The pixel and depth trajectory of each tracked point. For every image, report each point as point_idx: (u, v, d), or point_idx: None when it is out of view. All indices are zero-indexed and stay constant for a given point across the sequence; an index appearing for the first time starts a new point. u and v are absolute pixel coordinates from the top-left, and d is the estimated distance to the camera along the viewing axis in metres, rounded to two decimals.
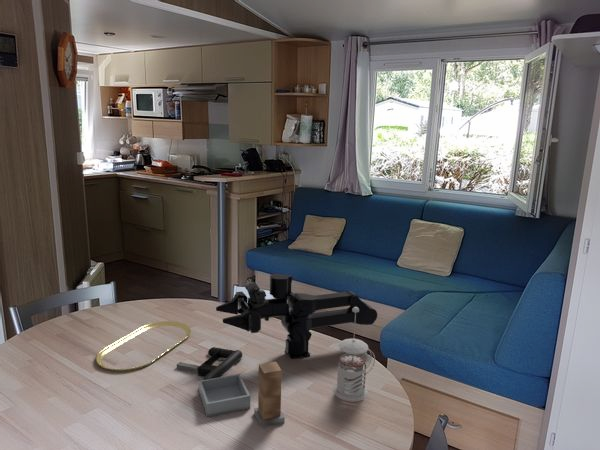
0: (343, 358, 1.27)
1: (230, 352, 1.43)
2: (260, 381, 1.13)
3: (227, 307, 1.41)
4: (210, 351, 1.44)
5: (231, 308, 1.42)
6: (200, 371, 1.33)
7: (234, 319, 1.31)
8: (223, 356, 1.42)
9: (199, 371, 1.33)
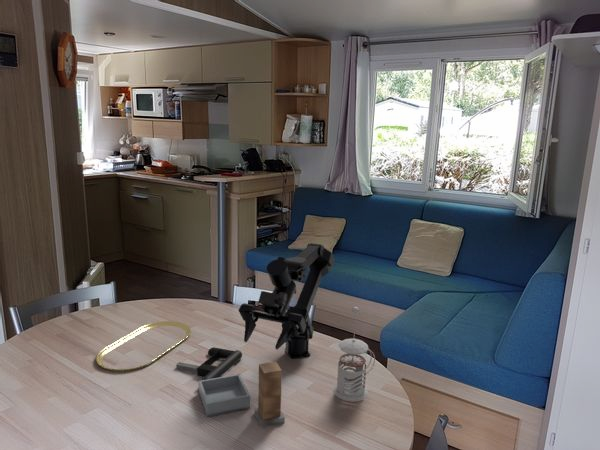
0: (343, 358, 1.27)
1: (230, 352, 1.42)
2: (260, 381, 1.13)
3: (250, 330, 1.25)
4: (210, 351, 1.44)
5: (251, 327, 1.27)
6: (200, 371, 1.33)
7: (283, 337, 1.21)
8: (223, 356, 1.42)
9: (199, 371, 1.33)
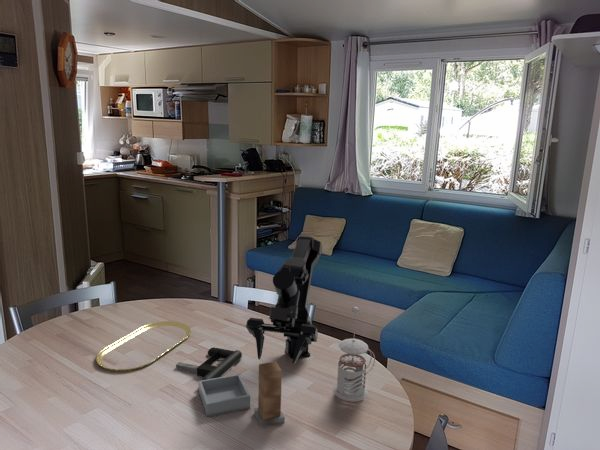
0: (343, 358, 1.27)
1: (230, 352, 1.42)
2: (260, 381, 1.13)
3: (261, 345, 1.21)
4: (210, 351, 1.44)
5: (262, 341, 1.22)
6: (199, 371, 1.33)
7: (299, 351, 1.19)
8: (223, 356, 1.42)
9: (198, 371, 1.33)
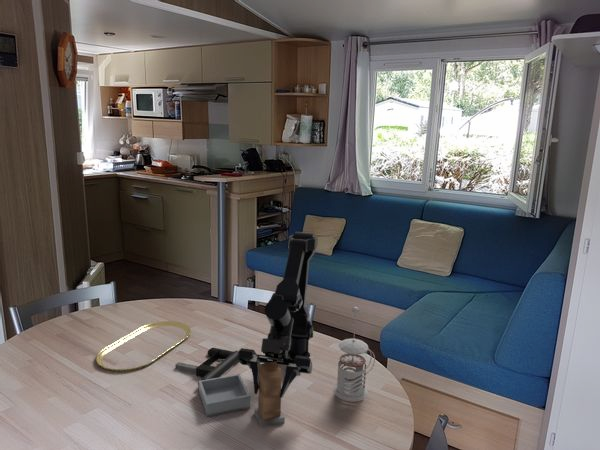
0: (343, 358, 1.27)
1: (229, 353, 1.42)
2: (260, 381, 1.13)
3: (258, 379, 1.15)
4: (209, 351, 1.44)
5: None
6: (198, 372, 1.32)
7: (287, 383, 1.13)
8: (222, 357, 1.42)
9: (198, 371, 1.33)
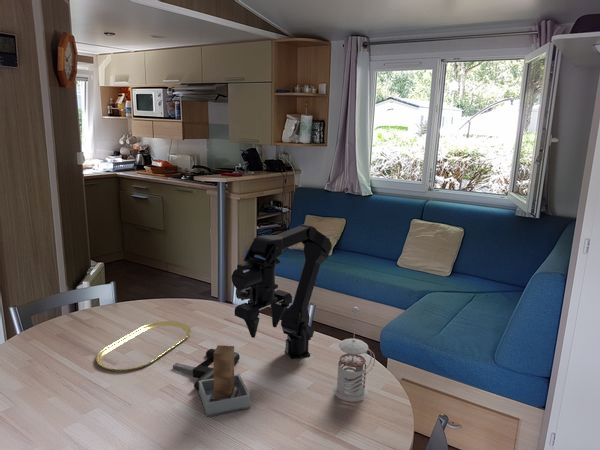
0: (343, 358, 1.27)
1: None
2: None
3: (274, 315, 1.36)
4: (208, 353, 1.44)
5: (276, 312, 1.36)
6: (195, 373, 1.32)
7: (249, 327, 1.28)
8: None
9: (194, 372, 1.32)
